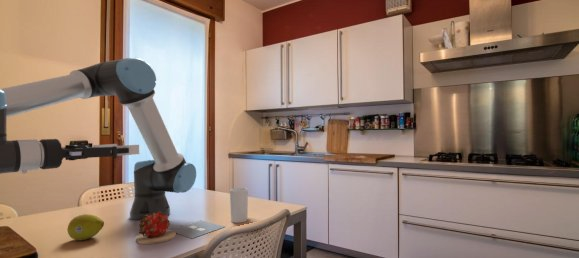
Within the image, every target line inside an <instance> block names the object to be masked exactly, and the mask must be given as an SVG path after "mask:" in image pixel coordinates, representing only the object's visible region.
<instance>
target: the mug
mask: <svg viewBox="0 0 579 258" xmlns="http://www.w3.org/2000/svg"><path fill="white" fill-rule="evenodd" d="M248 192H249V191H248V188H247V187H234V188H231V189H229V197H230V200H229V203H230V222H231V223H233V224H234V223H235V224H236V223H237V224H238V223H239V224H240V223H245V222H247V221H248V211H249V210H248V204H249V203H248V200H249V199H248V198H249V197H248V196H249V195H248V194H249V193H248Z"/></svg>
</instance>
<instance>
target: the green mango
mask: <svg viewBox="0 0 579 258" xmlns="http://www.w3.org/2000/svg"><path fill="white" fill-rule="evenodd" d="M104 226H105V221H104V220H103V219H101V218H100V217H98V215H97V216H96V215H93V214H85V213H84V214H81V215H80V214H79V215H77V216H75V217H73V218H72V219H71V220H70V221H69V223H68V225H67V234H68V236H69V237H70V238H71V239H73V240H75V241H85V240H86V241H87V240H88V239H91V238H93V237H94V236H97V234H98V233H99V232H100V231H101V230H102V229H103V228H104Z"/></svg>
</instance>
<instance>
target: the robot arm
mask: <svg viewBox="0 0 579 258" xmlns="http://www.w3.org/2000/svg"><path fill="white" fill-rule="evenodd" d="M156 81H157V77H156V73H155V70H154V69H153V68H152V66H151V65H150V64H149V63H148V62H146V61H145V60H143V59H141V58H138V57H137V58H136V57H135V58H133V57H132V58H130V57H129V58H128V57H126V58H121V59H115V60H108V61H103V62H99V63H96V64H93V65H90V66H87V67H83V68H79V69H75V70H71V71H70V72H69V74H67V75H62V76H58V77H52V78H47V79H43V80H38V81H37V80H36V81H32V82H27V83H23V84H17V85H12V86H9V87H3V88H0V175H2V174H11V173H17V172H21V173H22V174H23V175H24V174H27V173H28V171H38V170H39V169H41V170H50V169H58V168H60V166H62V164H63V162H62V161H63V159H65V161H76V160H85V159H89V158H107V157H109V158H110V157H112V159H113V160H114V159H115V160H116V159H117V158H118V156H121V157H122V156H132V155H134V156H135V155H140V144H130V145H129V144H127V145H118V143H110V144H93V142H89V143H87V144H84V145H79V144H78V145H76V144H65V145H64V147H63V146H62V143H61V141H60V140H59V139H57V138H46V139H45V138H44V139H43V138H42V139H40V140H38V139H35V138H34V139H15V140H8V135H7V134H8V133H7V118H10V117H14V116H17V115H20V114H25V113H28V112H32V111H36V110H39V109H42V108H47V107H49V106H53V105H57V104H60V103H64V102H67V101H71V100H76V99H82V100H88V99H91V98H96V97H109V96H110V97H111V96H115V97H116V98H117V99H118V101H119V103H120V105H121V106H124V107H127V108H128V110H129V111H128V112H129V113H130V115H131V116H132V118H133V120H134V122H135V124H136V125H135V126H137V129H138V131H139V133H140V134H141V136H142V138H143V140H144V142H145V145H146V147H147V149H148V151H149V153H150V155H151V157H152V159H149V160H142V161H136V162H135V163H134V167H133V169H134V170H133V186H134V187H133V188H134V199H133V202H132V205H131V208H130V210H129V218H130V220H134V221H140V220H141V219H142V217H144V216H145V215H148V216H149V214H151V213H152V212H153V213H155V214H156V213H157V212H162V214H166V215H167V216H168V215H170V214H171V207H170V204H169V201H168V199H167V196H166V193H176V194H178V193H179V194H180V193H183V194H184V193H187V192H188V191H190V190H191V189H192V188H193V187H194V184H195V183H196V178H197V169H196V167H195V165H194V164H193V163H191V162H187V161H186V159H185V157H184V155H183V154H182V153H180V152H179V153H178V152H177V149H176V146H175V144H174V143H173V140H172V138H171V136H170V134H169V131H168V129H167V127H166V125H165V122H164V120H163V118H162V116H161V113H160V112H159V109H158V107H157V105H156V103H155V102H156V101H155V100H154V96H155V94H156V92H155V88H156V86H157V83H156Z"/></svg>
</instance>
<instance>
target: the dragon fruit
mask: <svg viewBox="0 0 579 258" xmlns="http://www.w3.org/2000/svg"><path fill="white" fill-rule="evenodd" d="M170 225H171V223H170V220H169V216H168V215H166V214H162V212H157V213H156V214H155V213H153V212H152V213H151V214H149V216H148V215H145V216H144V217H142V219H141V220H139V223H138V229H139V231H138V235H140V234H143V236H144V237H148V238H152V236H156V237H158V236H159V237H160V236H162V234H165V232H166V230H168V229H169V227H170ZM144 233H145V235H144Z"/></svg>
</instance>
